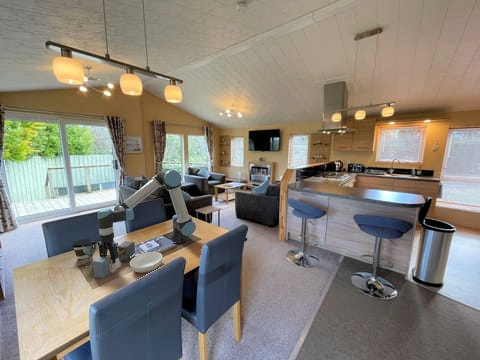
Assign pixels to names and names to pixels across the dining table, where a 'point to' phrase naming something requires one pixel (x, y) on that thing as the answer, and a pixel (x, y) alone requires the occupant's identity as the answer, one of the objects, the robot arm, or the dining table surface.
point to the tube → (119, 254)
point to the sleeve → (127, 250)
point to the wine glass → (90, 250)
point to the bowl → (146, 262)
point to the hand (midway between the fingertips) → (110, 267)
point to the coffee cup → (80, 248)
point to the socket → (101, 267)
